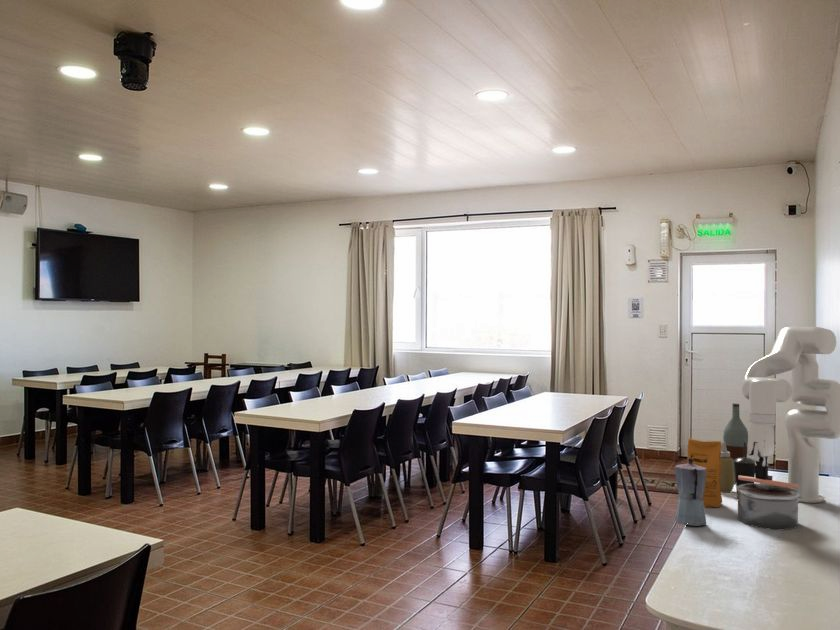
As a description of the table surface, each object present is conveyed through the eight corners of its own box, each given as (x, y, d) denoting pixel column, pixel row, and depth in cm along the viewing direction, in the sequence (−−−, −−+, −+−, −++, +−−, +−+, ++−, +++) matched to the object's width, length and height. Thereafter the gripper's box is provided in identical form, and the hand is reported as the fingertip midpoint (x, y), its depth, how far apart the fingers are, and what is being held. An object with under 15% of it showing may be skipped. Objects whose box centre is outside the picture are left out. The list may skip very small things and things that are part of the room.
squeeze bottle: (738, 493, 259) (739, 444, 259) (716, 493, 259) (716, 443, 259) (729, 488, 267) (729, 440, 267) (707, 488, 267) (708, 440, 267)
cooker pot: (749, 510, 237) (749, 480, 237) (807, 521, 224) (807, 489, 224) (727, 521, 224) (727, 489, 224) (787, 533, 212) (787, 499, 212)
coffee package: (686, 498, 253) (686, 435, 253) (724, 502, 246) (724, 439, 246) (680, 504, 244) (681, 440, 244) (719, 509, 238) (719, 443, 238)
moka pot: (700, 517, 229) (700, 454, 229) (715, 531, 213) (715, 464, 213) (669, 516, 230) (669, 454, 230) (682, 530, 214) (682, 464, 214)
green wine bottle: (754, 482, 277) (754, 404, 277) (734, 483, 275) (734, 405, 275) (737, 476, 286) (737, 402, 286) (717, 478, 284) (717, 402, 284)
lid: (750, 480, 236) (750, 472, 237) (805, 489, 224) (806, 481, 224) (729, 478, 224) (730, 469, 225) (787, 487, 212) (787, 478, 213)
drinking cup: (755, 503, 246) (755, 445, 246) (731, 500, 250) (731, 443, 250) (758, 498, 252) (758, 442, 252) (734, 495, 256) (734, 440, 256)
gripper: (758, 416, 229) (758, 474, 228) (740, 419, 218) (739, 479, 218) (783, 419, 224) (782, 477, 223) (766, 422, 213) (765, 483, 213)
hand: (761, 478), depth 221 cm, fingers closed
